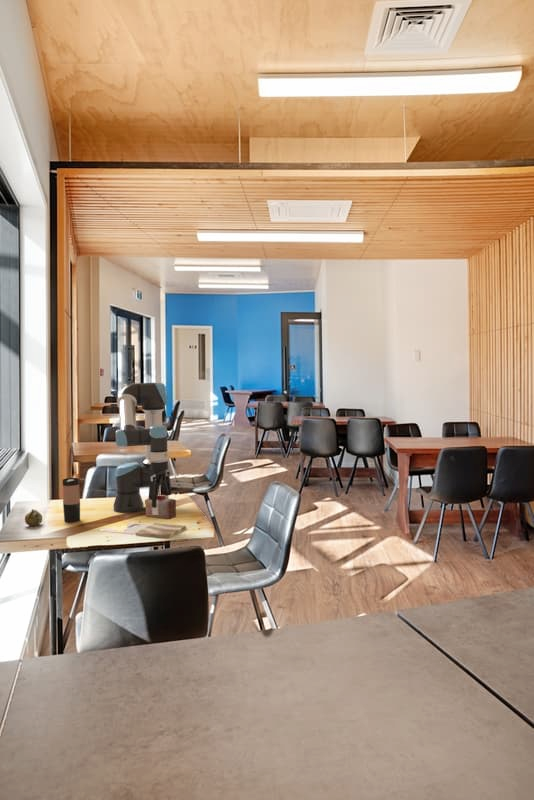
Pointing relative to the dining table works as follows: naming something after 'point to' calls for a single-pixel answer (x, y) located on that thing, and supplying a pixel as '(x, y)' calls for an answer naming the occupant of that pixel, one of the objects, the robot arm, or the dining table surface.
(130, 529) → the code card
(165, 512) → the food item
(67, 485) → the travel mug
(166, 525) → the beige cloth
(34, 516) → the onion
